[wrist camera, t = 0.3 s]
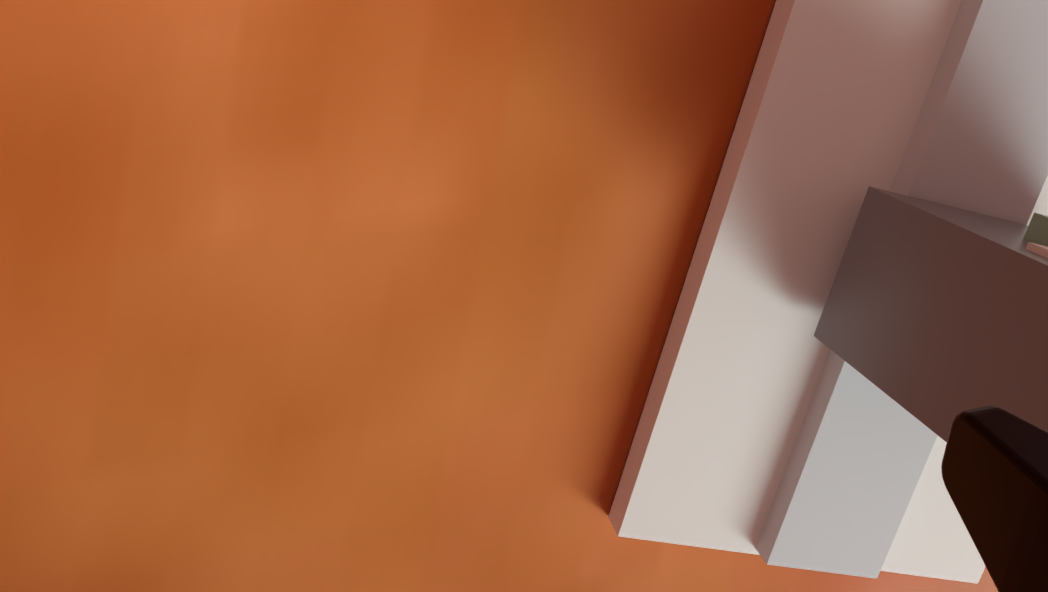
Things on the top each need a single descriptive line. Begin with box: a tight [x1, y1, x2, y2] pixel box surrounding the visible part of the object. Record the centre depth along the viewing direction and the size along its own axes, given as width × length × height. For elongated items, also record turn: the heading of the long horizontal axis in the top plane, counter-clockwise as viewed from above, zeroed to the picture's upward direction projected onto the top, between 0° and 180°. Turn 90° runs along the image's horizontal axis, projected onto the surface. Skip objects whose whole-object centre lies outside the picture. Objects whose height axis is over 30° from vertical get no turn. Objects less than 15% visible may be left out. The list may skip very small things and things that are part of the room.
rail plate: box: [608, 0, 1048, 584], centre depth 25 cm, size 20×12×3 cm, turn 164°
